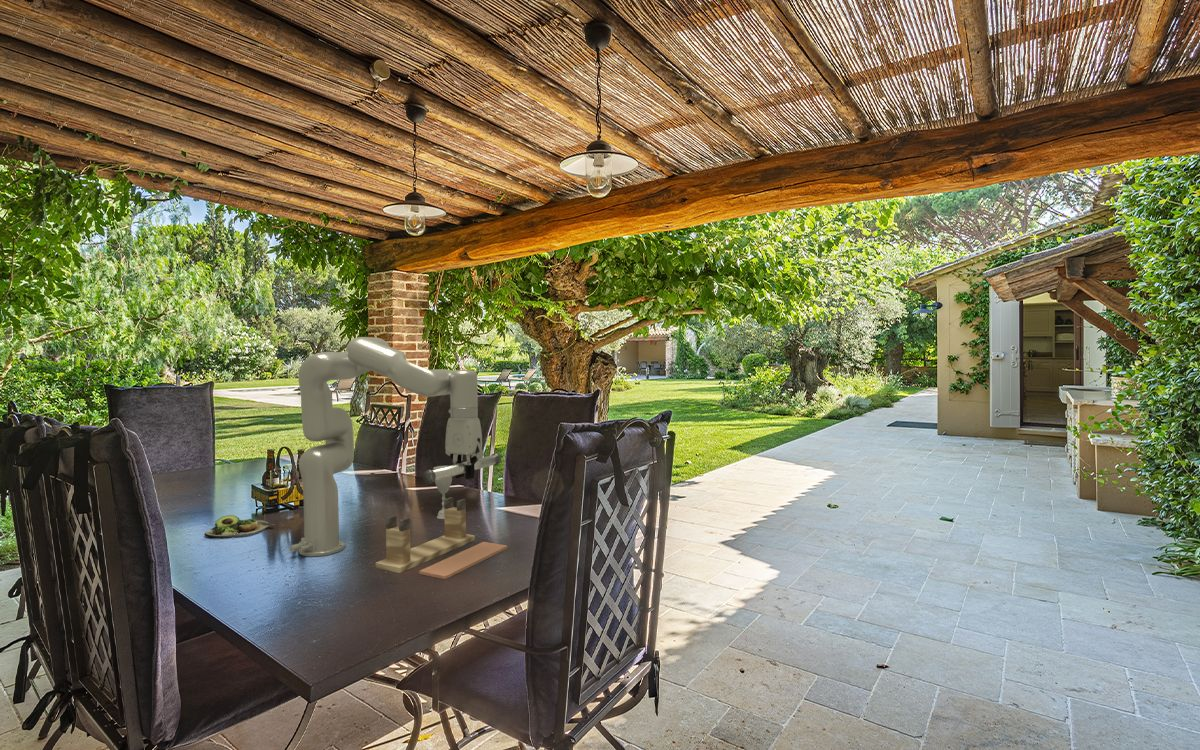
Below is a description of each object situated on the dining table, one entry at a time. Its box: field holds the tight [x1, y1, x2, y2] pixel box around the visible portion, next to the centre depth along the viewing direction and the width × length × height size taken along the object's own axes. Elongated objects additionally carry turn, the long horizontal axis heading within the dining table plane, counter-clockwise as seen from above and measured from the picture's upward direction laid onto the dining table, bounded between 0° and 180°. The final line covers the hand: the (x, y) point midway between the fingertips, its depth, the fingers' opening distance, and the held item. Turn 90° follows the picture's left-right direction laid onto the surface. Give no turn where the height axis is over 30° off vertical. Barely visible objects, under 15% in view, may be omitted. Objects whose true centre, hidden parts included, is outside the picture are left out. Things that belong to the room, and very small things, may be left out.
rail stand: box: [375, 496, 476, 574], centre depth 179 cm, size 32×9×14 cm, turn 153°
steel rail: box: [422, 452, 502, 485], centre depth 172 cm, size 30×4×4 cm, turn 153°
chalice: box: [432, 465, 453, 520], centre depth 218 cm, size 7×7×18 cm
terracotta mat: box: [418, 541, 509, 580], centre depth 173 cm, size 28×9×1 cm, turn 153°
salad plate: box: [204, 514, 276, 539], centre depth 203 cm, size 19×18×5 cm
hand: (464, 477), depth 172 cm, fingers closed on steel rail, 3 cm apart
